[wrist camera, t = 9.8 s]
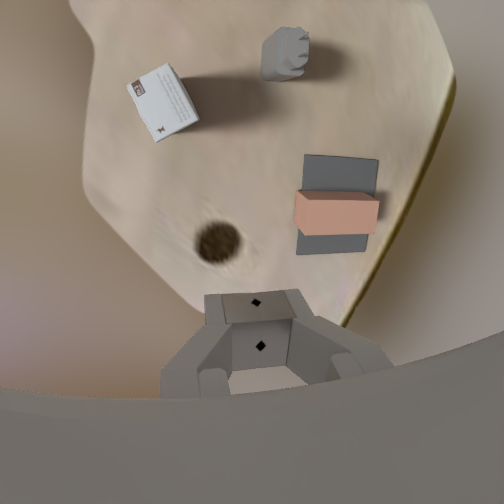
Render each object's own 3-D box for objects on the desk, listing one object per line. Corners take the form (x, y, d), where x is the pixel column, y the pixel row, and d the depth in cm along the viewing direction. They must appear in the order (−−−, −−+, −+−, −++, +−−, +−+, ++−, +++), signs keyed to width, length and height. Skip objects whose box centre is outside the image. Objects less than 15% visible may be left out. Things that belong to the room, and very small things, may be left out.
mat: (304, 154, 40) (305, 155, 39) (376, 159, 42) (378, 160, 41) (296, 253, 45) (297, 255, 45) (363, 250, 47) (364, 251, 47)
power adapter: (260, 80, 35) (288, 67, 24) (262, 39, 32) (291, 13, 22) (285, 82, 35) (322, 72, 25) (287, 42, 33) (324, 19, 22)
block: (308, 199, 37) (379, 201, 39) (296, 190, 41) (363, 192, 43) (305, 235, 39) (374, 233, 41) (294, 223, 43) (359, 222, 45)
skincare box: (201, 119, 36) (204, 121, 25) (167, 136, 36) (156, 146, 25) (178, 75, 33) (172, 59, 22) (145, 93, 33) (124, 85, 22)
